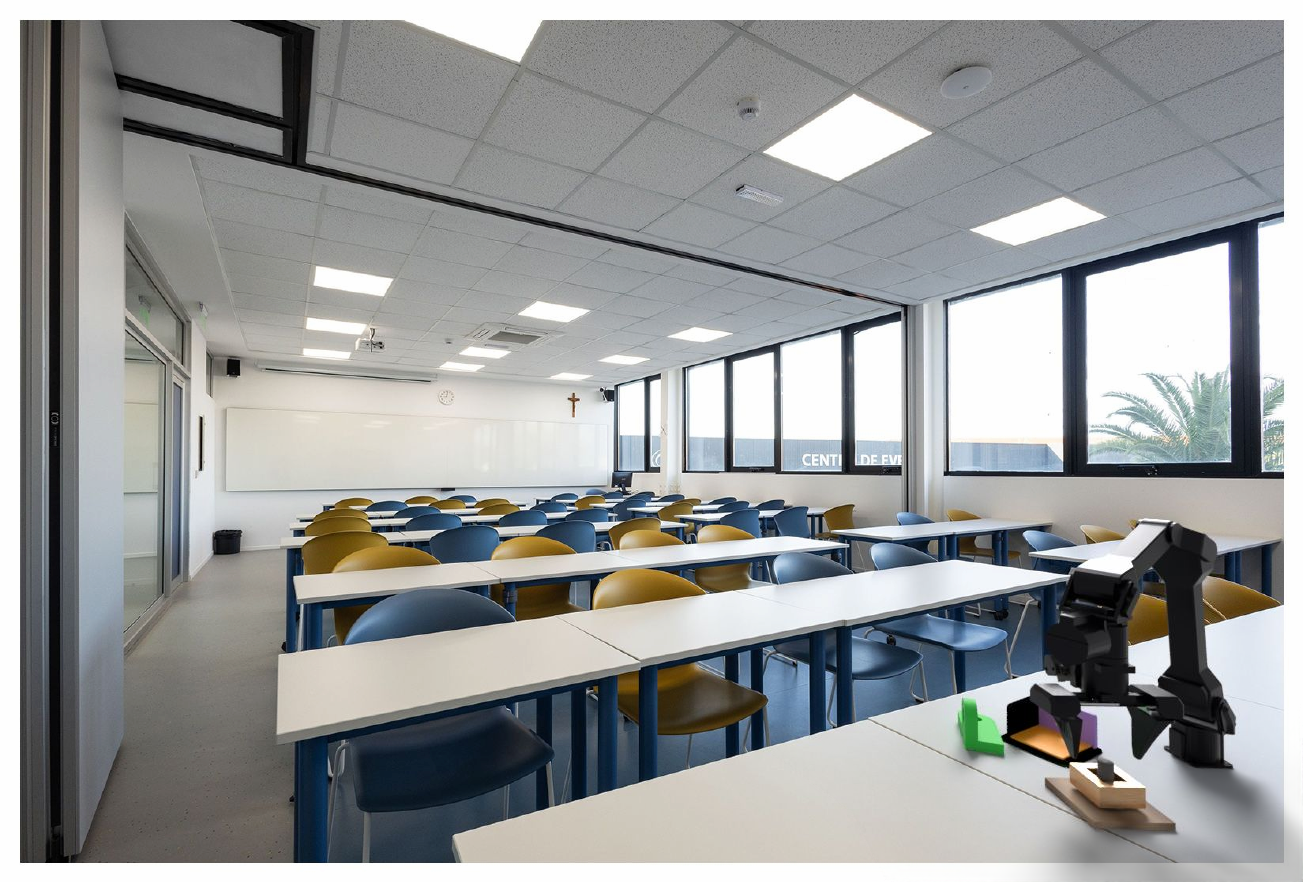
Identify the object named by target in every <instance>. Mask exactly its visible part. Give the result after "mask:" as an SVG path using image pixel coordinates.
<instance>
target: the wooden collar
mask: <svg viewBox="0 0 1303 882" xmlns="http://www.w3.org/2000/svg"><path fill="white" fill-rule="evenodd" d="M1069 778H1070V783H1071V784H1072V785H1073V786H1075V787H1076V788H1077V789H1078V790H1079V791H1080V792H1082V793H1083V794H1084V795H1085V796H1086V797H1088V798H1089V799H1090V800H1091V801H1092V802H1093V803H1095V804H1096V805H1097V806H1098V807H1099V808H1132V809H1146V801H1147V799H1146V790H1147V788H1146V786H1144V785H1143V784H1141V783H1140V782H1139V781H1137V780H1136V779H1134V778H1133V777H1132V776H1130V775H1129V774H1128V773H1126V772H1125V771H1123V770H1122V769H1121V768H1119V767H1118V766H1116V764H1114V782H1102V781H1101V780H1100V779H1099V778H1097V762H1094V763H1093V762H1084V763H1070V768H1069Z"/></svg>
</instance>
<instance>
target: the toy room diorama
mask: <svg viewBox="0 0 1303 882" xmlns="http://www.w3.org/2000/svg"><path fill="white" fill-rule="evenodd" d="M1077 716H1078V717H1079V718H1081V719H1082V720H1083V723H1082V731H1081V740H1080V748H1079V753H1078V757H1077V759H1074V758H1072V757H1071V756H1070V755H1069V752H1068V750H1067V747H1066V745H1065V742H1064V740H1063V737H1062V735H1061V732H1060V730H1059V727H1058V725H1057V723H1056V721H1055V720H1054V718H1053V716H1052V715H1050V714H1049V713H1047V712H1046V711H1044V710H1043V709H1042V708H1040V707H1039V706H1037V705H1036V704H1035V703H1033V702H1032V701H1030V695H1029V696H1026V697H1023V698H1020V699H1017V700H1015V701H1012V702H1010V703H1007V705H1006V732H1005V733H1004V734H1002V735H1001V734H1000V736H1001V738H1002V741H1003V743H1006V744H1008V745H1010V746H1013V747H1015V748H1017V749H1019V750H1022V751H1023V752H1026V753H1029V754H1030V755H1033V756H1036V757H1038V758H1039V759H1040V758H1041V759H1042V760H1044V759H1045V761H1047V762H1049V763H1052V764H1054V763H1055V764H1054V765H1057V766H1060V767H1062V768H1065V767H1067V768H1066V769H1070V763H1087V762H1088V761H1090V760H1092V759H1094V758H1096V757H1098V756H1100V755H1102V754H1103V750H1102V749H1103V748H1100V747H1098V744H1099V743H1098V739H1099V738H1098V716H1097V714H1095V713H1092V712H1090V711H1087V710H1084V709H1082V708H1081V712H1080V713H1079V714H1078V715H1077Z"/></svg>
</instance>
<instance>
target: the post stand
mask: <svg viewBox="0 0 1303 882" xmlns="http://www.w3.org/2000/svg"><path fill="white" fill-rule="evenodd" d="M1096 763H1097V778H1099V779H1100V780H1101V781H1102V782H1114V765H1115V763H1114V762H1113V760H1112V761H1111V760H1110V759H1107V758H1103V757H1099V758H1097V759H1096ZM1044 786H1045V787H1046V788H1047V789H1049V791H1051V792H1052V793H1053V794H1054V795H1055V796H1057V798H1059V799H1060V800H1061V801H1062V802H1063V803H1065V805H1067V807H1070V809H1072V810H1073V811H1074V812H1075V813H1076V814H1077V815H1078V816H1080V817H1081V819H1083V820H1084V822H1086V823H1088V825H1090V826H1091V827H1092V828H1093V829H1098V830H1099V829H1102V830H1103V829H1104V830H1139V831H1140V830H1144V831H1145V830H1147V831H1149V830H1150V831H1152V830H1153V831H1176V830H1177V825H1176V822H1174V820H1172V819H1170V818H1169V817H1168V816H1167V815H1166V814H1164V812H1161V811H1160V810H1159V809H1157V808H1156V807H1155V806H1154V805H1152V804H1151V803H1150V802H1149V801H1147V800H1146V809H1132V808H1099V807H1098V806H1097V805H1096V804H1095V803H1093V802H1092V801H1091V800H1090V799H1089V798H1088V797H1086V796H1085V795H1084V794H1083V793H1082V792H1080V791H1079V790H1078V789H1077V788H1076V787H1075V786H1073V785H1072V784H1071V783H1070V777H1044Z"/></svg>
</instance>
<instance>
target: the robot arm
mask: <svg viewBox="0 0 1303 882" xmlns="http://www.w3.org/2000/svg"><path fill="white" fill-rule="evenodd" d="M1217 556H1218V546H1217V543H1216V542H1215V541H1214V540H1213V539H1212V538H1210V537H1209V536H1208V534H1206V533H1204V532H1199V531H1196V530H1194V529H1190V528H1188V527H1184V526H1182V525H1181V524H1180V523H1179V522H1175V521H1174V520H1167V519H1166V520H1165V519H1156V518H1155V519H1153V518H1143V519H1138V520H1137V521H1136V523H1135V525H1134V529H1133V530H1132V531H1131V532H1130V533H1129V534H1128V535H1126V537H1125V538H1124V539H1123V540H1121V541H1120V543H1118V545H1116V547H1114V549H1112V550H1111V551H1110V552H1109V553H1108V554H1107V555H1106V556H1105V555H1104V556H1103V557H1098V558H1093V559H1088V560H1087V561H1085V562H1083V563H1081V564H1080V565H1078V566H1077V567H1076V568H1075V569H1074V570H1073V571H1072V573H1071V574H1070V576H1069V578H1068V581H1067V584H1066V586H1065V590H1064V592H1063V594H1062V596H1061V599H1060V602H1059V605H1058V611H1061V612H1063V613H1060V614H1059V616H1058V620H1059V621H1058V622H1057V623H1054V624H1051V625H1050V626H1049V627H1048V628H1047V630H1046V632H1045V634H1044V635H1043V636H1044V637H1043V638H1044V645H1045V647H1046V650H1047V651H1048V653H1049V654H1044V659H1043V660H1044V661H1043V668H1044V672H1045V674H1046V675H1047V676H1049V677H1050V676H1051V677H1056V679H1057V683H1056V682H1055V683H1053V682H1052V683H1042V682H1041V683H1037V682H1035V683H1033V684H1032V685H1031V686H1030V689H1029V696H1030V701H1032V702H1033V703H1035V704H1036V705H1037V706H1039V707H1040V708H1042V709H1043V710H1044V711H1046V712H1047V713H1049V714H1050V715H1052V716H1053V718H1054V720H1055V721H1056V723H1057V725H1058V727H1059V730H1060V732H1061V735H1062V737H1063V740H1064V742H1065V745H1066V747H1067V750H1068V752H1069V755H1070V756H1071V757H1072V758H1074V759H1077V757H1078V753H1079V748H1080V740H1081V731H1082V723H1083V720H1082V719H1081V718H1079V717H1078V716H1077V715H1078V714H1079V713H1080V712H1081V709H1082V707H1110V708H1111V707H1116V708H1117V707H1118V708H1120V707H1121V708H1123V707H1124V708H1126V709H1127V711H1128V714H1129V715H1130V720H1131V721H1130V726H1131V727H1130V728H1131V729H1130V730H1131V731H1130V732H1131V733H1130V735H1131V738H1130V739H1131V751H1132V756H1133V758H1135V759H1136V760H1138V761H1139V760H1140V761H1141V760H1142V759H1143V757H1144V756H1145V755H1146V754H1147V752H1148V751H1149V749H1150V748H1151V747H1152V745H1154V742H1155V741H1156V740H1157V739H1158V738H1159V736H1160V735H1162V733H1163V732H1164V731H1165V730H1166V729H1167V728H1168V727H1169V726H1170V727H1169V728H1168V745H1163V749H1164V750H1165V751H1167V753H1170V754H1171V755H1173V756H1175V757H1176V758H1178V759H1180V760H1181V761H1183V762H1185V763H1186V764H1187V765H1189V766H1191V767H1192V768H1197V769H1199V768H1200V769H1205V768H1206V769H1233V768H1234V765H1233V764H1232V763H1230V762H1229V761H1227V760H1225V735H1230V736H1235V735H1236V726H1237V723H1236V721H1237V716H1236V715H1235V713H1234V711H1233V709H1232V707H1231V705H1230V704H1229V702H1228V700H1227V699H1226V698H1225V697H1224V690H1223V684H1222V683H1221V681H1220V680H1219V679H1218V678H1217V676H1216V675H1215V674H1214V673H1213V671H1212V670H1211V668H1209V666H1208V653H1207V639H1206V637H1207V636H1206V625H1205V624H1206V623H1205V622H1206V621H1205V612H1204V611H1205V609H1204V607H1205V606H1204V599H1203V598H1204V596H1203V582H1204V580H1205V579H1207V578H1208V576H1209V575H1210V574H1211V572H1213V570H1214V568H1215V561H1216V560H1217ZM1151 568H1152V569H1153V570H1154V572H1155V573H1156V574H1157V576H1158V577H1159V578H1160V580H1162V581H1163V583H1164V592H1165V593H1164V594H1165V605H1166V606H1165V607H1166V621H1167V635H1168V648H1169V660H1170V661H1169V662H1170V664H1169V666H1168V667H1167V668H1166V670H1165V671H1164V672H1162V674H1161V675H1160V676H1158V678H1157V685H1155V684H1152V683H1150V684H1145V683H1144V684H1143V683H1140V684H1139V683H1137V684H1133V683H1131V684H1130V682H1129V675H1130V674H1132V675H1134V674H1136V673H1137V672H1136V671H1137V669H1136V666H1135V665H1134V664H1131V663H1129V621H1132V620H1133V617H1134V616H1133V615H1132V614H1133V611H1134V610H1135V607H1137V606H1136V605H1137V603H1138V602H1139V599H1140V597H1141V588H1140V583H1139V582H1140V579H1141V578H1142V577H1143V576H1144V575H1145V574H1146V573H1147V572H1148V571H1149V570H1150V569H1151ZM1064 612H1065V613H1064ZM1065 682H1069V684H1070V686H1071V687H1073V688H1075V689H1080V691H1070V690H1069V689H1067V688H1065V687H1064V686H1062V685H1060V684H1059V683H1065Z"/></svg>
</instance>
